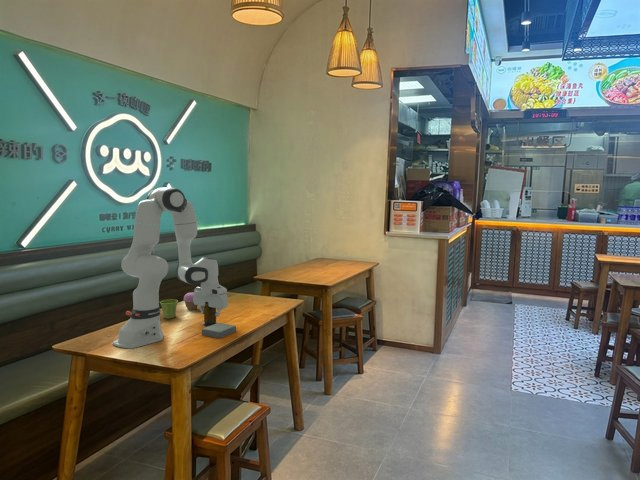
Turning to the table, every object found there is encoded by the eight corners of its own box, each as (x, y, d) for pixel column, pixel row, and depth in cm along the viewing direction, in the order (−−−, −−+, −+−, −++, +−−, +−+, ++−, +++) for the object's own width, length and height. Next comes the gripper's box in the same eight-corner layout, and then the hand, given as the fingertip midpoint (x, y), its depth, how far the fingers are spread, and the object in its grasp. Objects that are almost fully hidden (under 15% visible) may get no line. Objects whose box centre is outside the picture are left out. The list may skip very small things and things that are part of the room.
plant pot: (157, 319, 246) (157, 303, 245) (163, 314, 255) (162, 299, 254) (175, 319, 246) (175, 303, 245) (180, 314, 256) (180, 299, 255)
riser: (219, 338, 215) (219, 332, 215) (201, 334, 220) (201, 328, 220) (236, 331, 226) (236, 325, 226) (218, 328, 231) (218, 322, 231)
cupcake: (202, 308, 268) (202, 291, 267) (191, 312, 261) (190, 294, 260) (192, 306, 273) (191, 290, 272) (180, 309, 266) (180, 292, 265)
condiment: (213, 320, 244) (212, 298, 243) (221, 324, 238) (220, 301, 236) (200, 323, 239) (199, 300, 238) (207, 327, 233) (207, 303, 232)
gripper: (190, 287, 239) (190, 313, 240) (221, 291, 229) (221, 319, 231) (198, 285, 244) (199, 311, 246) (229, 289, 235) (230, 316, 236)
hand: (210, 315), depth 238 cm, fingers open, 8 cm apart
